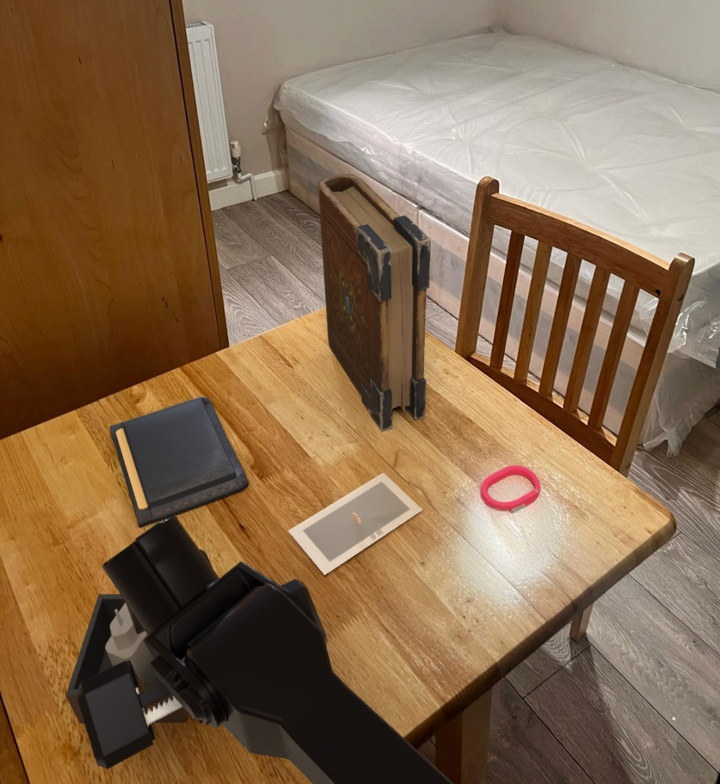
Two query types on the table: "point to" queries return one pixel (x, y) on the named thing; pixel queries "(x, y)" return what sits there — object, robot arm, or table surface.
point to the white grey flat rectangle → (354, 522)
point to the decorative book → (375, 295)
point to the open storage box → (105, 655)
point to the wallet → (176, 460)
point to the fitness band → (517, 503)
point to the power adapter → (130, 646)
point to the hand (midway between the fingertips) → (197, 667)
